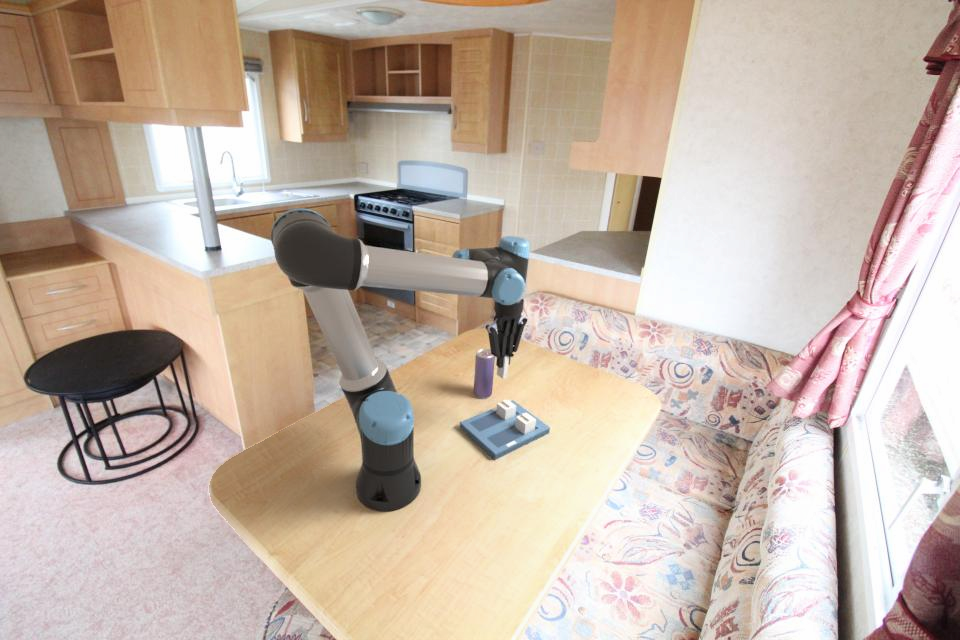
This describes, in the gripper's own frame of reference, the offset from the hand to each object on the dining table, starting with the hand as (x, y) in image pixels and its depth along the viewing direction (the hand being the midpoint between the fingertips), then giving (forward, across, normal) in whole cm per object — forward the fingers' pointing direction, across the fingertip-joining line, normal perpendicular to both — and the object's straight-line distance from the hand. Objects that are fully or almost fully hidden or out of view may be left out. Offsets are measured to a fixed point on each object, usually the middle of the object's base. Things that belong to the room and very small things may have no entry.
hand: (502, 375), depth 129 cm
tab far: (+14, +3, 0) cm, 14 cm away
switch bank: (+16, -1, -4) cm, 16 cm away
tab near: (+14, +3, -8) cm, 17 cm away
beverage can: (+16, +5, +14) cm, 22 cm away
